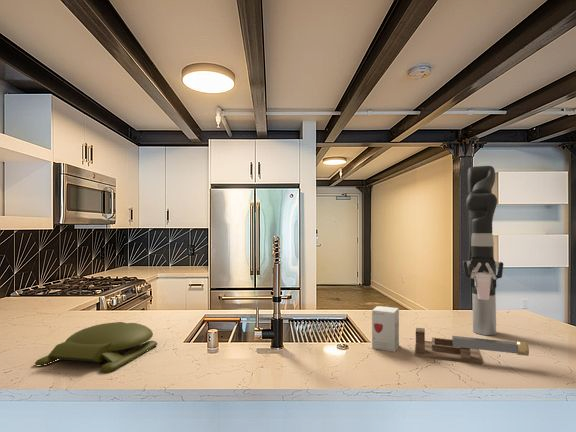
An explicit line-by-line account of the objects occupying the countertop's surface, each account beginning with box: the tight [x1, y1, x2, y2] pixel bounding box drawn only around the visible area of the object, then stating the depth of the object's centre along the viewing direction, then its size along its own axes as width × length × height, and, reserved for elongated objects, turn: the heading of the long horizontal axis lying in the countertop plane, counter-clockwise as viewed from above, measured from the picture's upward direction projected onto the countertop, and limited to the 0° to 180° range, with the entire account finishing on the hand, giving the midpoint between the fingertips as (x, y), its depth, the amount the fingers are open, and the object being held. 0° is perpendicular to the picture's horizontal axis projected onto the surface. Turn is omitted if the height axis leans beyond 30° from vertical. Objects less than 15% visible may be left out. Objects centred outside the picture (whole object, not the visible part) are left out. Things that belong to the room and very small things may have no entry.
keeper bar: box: [451, 335, 530, 357], centre depth 125 cm, size 4×23×4 cm, turn 68°
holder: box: [414, 327, 483, 365], centre depth 135 cm, size 17×22×9 cm
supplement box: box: [371, 305, 400, 352], centre depth 142 cm, size 9×9×15 cm
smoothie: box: [474, 271, 492, 300], centre depth 138 cm, size 6×6×14 cm
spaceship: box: [34, 321, 158, 373], centre depth 136 cm, size 35×31×10 cm
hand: (483, 288), depth 138 cm, fingers closed on smoothie, 6 cm apart
